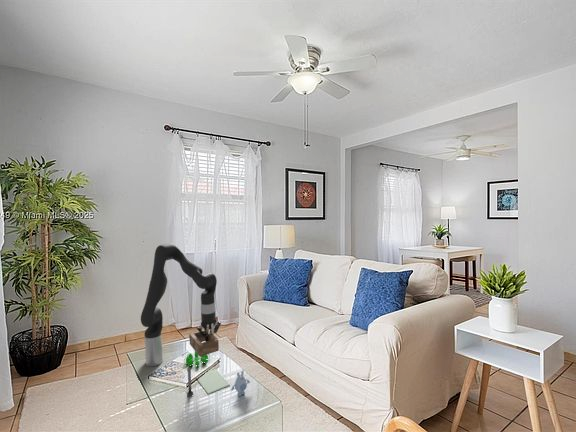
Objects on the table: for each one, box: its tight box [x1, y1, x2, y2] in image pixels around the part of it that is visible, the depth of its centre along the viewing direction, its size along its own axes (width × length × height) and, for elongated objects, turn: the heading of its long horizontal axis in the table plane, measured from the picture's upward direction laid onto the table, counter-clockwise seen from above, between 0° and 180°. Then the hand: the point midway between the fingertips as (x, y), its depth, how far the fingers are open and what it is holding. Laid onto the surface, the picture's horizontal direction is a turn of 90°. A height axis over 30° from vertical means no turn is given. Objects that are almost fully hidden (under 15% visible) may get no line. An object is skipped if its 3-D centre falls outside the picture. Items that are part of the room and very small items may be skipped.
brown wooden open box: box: [188, 328, 220, 358], centre depth 167 cm, size 16×10×6 cm, turn 35°
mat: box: [197, 368, 230, 395], centre depth 171 cm, size 18×12×1 cm, turn 36°
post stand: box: [186, 367, 194, 398], centre depth 159 cm, size 3×3×14 cm
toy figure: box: [231, 370, 251, 397], centre depth 160 cm, size 11×6×12 cm, turn 127°
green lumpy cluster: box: [183, 350, 211, 367], centre depth 190 cm, size 15×15×7 cm
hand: (209, 341), depth 171 cm, fingers closed on brown wooden open box
